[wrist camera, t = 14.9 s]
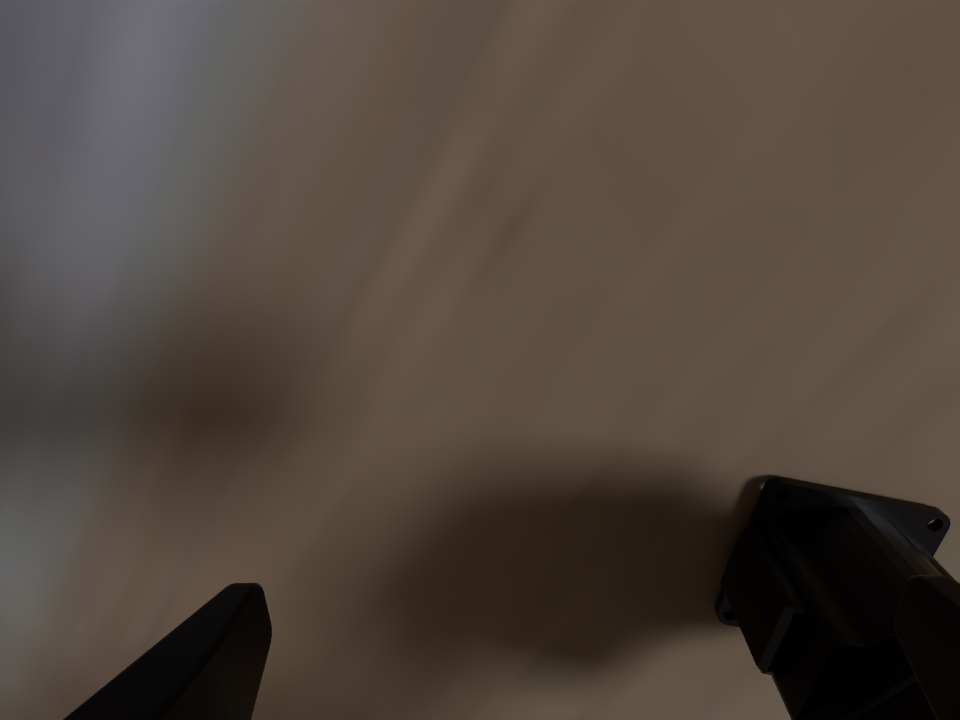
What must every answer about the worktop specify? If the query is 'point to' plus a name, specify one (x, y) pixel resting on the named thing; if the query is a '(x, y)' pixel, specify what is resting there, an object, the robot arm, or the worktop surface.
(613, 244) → the worktop surface
